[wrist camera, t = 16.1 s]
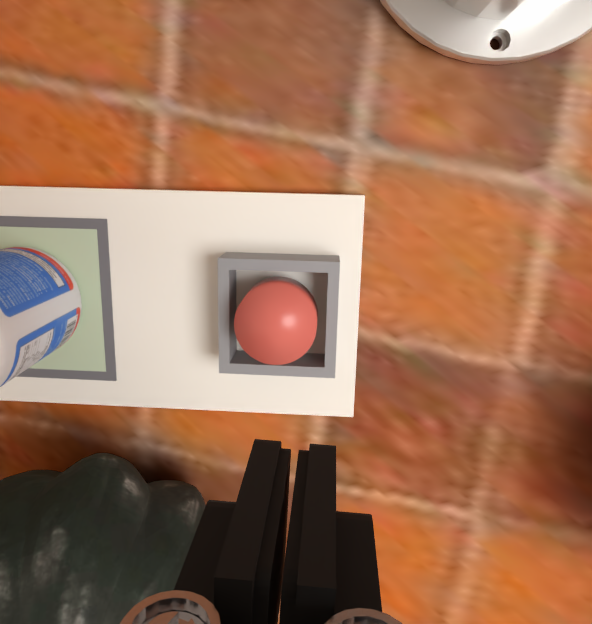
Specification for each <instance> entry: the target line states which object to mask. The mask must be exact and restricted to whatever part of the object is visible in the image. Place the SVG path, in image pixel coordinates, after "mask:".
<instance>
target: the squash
mask: <svg viewBox="0 0 592 624" xmlns="http://www.w3.org/2000/svg"><path fill="white" fill-rule="evenodd" d="M205 506H206V505H205V502H204V500H203V497H202V495H201V493H200V492H199V491H198V490H197V488H196V487H195V486H193V485H191V484H188V483H185V482H183V481H176V480H161V481H154V482H151V483H146V482H145V480H144V479H143V477H142V476H141V474H140V473H139V471H138V470H137V469H136V468H135V467H134V466H133V465H132V464H131V463H130V462H129V461H127V460H126V459H124V458H122V457H118V456H115V455H113V454H109V453H96V454H93V455H91V456H88V457H85V458H83V459H81V460H80V461H78V462H76V463H75V464H73V465H72V466H71V467H69V468H68V469H67V470H65V471H64V472H58V471H53V470H32V471H27V472H23V473H20V474H16V475H13V476H10V477H7V478H4V479H2V480H0V624H120V622H121V621H122V619H123V618H124V617H125V615H126V614H127V613H128V612H129V611H130V610H131V609H132V608H133V606H135V605H136V604H138V603H139V602H141V601H142V600H144V599H145V598H147V597H149V596H152V595H155V594H157V593H160V592H166V591H173V590H174V588H175V585H176V582H177V580H178V577H179V575H180V572H181V569H182V567H183V564H184V561H185V559H186V556H187V554H188V551H189V548H190V546H191V543H192V540H193V538H194V535H195V532H196V530H197V527H198V525H199V522H200V519H201V517H202V514H203V511H204V509H205Z"/></svg>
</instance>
